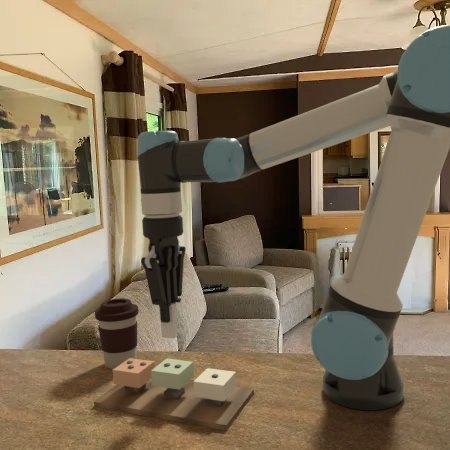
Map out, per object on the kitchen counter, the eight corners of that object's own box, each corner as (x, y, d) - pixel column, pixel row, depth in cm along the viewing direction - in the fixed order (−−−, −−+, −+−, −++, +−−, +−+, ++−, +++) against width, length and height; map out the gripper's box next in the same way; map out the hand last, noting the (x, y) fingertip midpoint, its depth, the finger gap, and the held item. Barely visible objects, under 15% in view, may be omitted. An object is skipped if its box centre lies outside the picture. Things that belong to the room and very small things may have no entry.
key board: (253, 393, 96) (253, 383, 95) (226, 430, 83) (226, 418, 83) (134, 376, 107) (133, 366, 106) (94, 406, 94) (93, 395, 94)
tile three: (155, 375, 100) (154, 360, 99) (139, 388, 94) (138, 372, 94) (130, 371, 102) (129, 357, 101) (113, 384, 96) (112, 368, 96)
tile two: (194, 376, 96) (193, 360, 95) (179, 389, 90) (178, 373, 90) (167, 372, 98) (166, 357, 98) (152, 385, 93) (151, 369, 92)
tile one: (236, 386, 92) (235, 370, 92) (224, 401, 87) (223, 384, 87) (208, 382, 95) (207, 367, 94) (194, 396, 89) (193, 380, 89)
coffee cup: (132, 373, 108) (127, 308, 106) (92, 372, 110) (86, 308, 108) (148, 356, 118) (143, 296, 116) (110, 354, 120) (105, 296, 118)
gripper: (162, 211, 98) (169, 324, 101) (125, 219, 86) (134, 346, 89) (195, 211, 95) (201, 327, 98) (161, 219, 83) (170, 351, 86)
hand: (169, 336), depth 93 cm, fingers closed
